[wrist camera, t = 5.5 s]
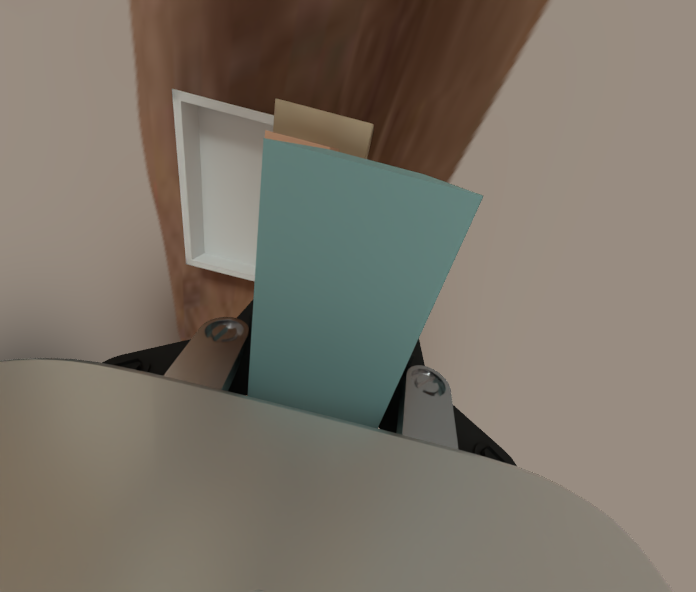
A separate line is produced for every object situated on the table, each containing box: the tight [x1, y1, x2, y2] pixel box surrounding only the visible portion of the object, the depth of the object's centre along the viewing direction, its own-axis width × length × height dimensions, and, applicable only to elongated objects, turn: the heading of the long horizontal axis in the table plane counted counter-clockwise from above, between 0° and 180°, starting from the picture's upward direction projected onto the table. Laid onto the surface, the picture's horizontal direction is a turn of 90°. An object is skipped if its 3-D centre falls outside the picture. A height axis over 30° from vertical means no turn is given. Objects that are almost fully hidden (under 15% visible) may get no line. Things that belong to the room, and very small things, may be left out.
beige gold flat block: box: [273, 98, 374, 159], centre depth 23 cm, size 16×7×3 cm, turn 167°
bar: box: [248, 138, 483, 428], centre depth 10 cm, size 12×4×6 cm, turn 167°
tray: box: [172, 89, 274, 281], centre depth 23 cm, size 14×8×2 cm, turn 167°
